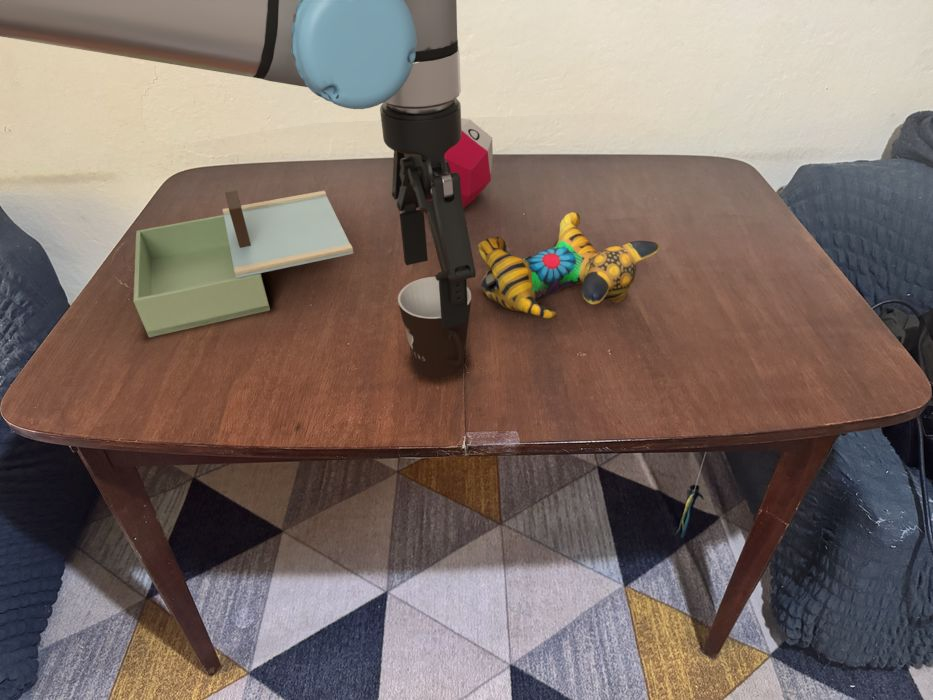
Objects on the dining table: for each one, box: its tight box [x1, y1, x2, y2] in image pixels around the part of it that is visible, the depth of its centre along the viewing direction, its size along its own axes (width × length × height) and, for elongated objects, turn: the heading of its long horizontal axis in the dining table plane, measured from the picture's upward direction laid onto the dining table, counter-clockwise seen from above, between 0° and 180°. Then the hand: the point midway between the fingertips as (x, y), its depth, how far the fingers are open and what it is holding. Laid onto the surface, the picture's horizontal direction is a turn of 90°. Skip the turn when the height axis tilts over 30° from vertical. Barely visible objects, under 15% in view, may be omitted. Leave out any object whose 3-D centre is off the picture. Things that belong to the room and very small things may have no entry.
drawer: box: [222, 190, 354, 278], centre depth 94 cm, size 16×20×7 cm
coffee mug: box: [397, 276, 472, 379], centre depth 77 cm, size 12×9×10 cm
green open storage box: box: [133, 214, 271, 338], centre depth 94 cm, size 16×20×6 cm
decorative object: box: [427, 117, 494, 209], centre depth 112 cm, size 15×15×15 cm
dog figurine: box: [477, 211, 660, 319], centre depth 89 cm, size 20×12×18 cm
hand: (434, 290), depth 73 cm, fingers open, 13 cm apart
